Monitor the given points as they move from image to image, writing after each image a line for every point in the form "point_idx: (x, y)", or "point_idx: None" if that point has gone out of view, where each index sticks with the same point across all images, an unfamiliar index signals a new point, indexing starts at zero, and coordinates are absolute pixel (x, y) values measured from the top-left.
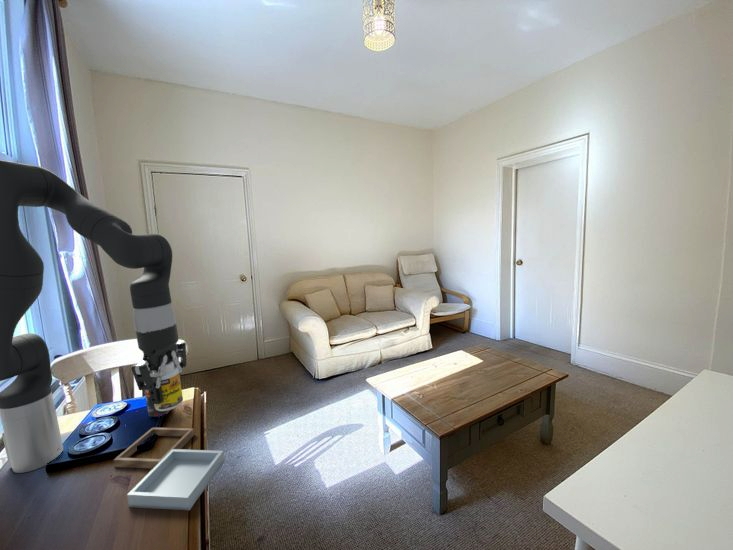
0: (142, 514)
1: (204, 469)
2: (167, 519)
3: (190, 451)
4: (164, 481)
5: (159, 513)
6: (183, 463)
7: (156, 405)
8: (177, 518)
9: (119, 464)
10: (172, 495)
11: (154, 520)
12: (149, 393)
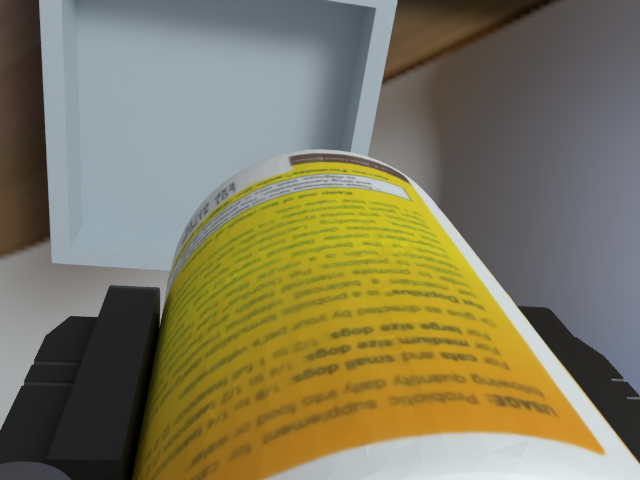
0: (26, 36)
1: None
2: (17, 169)
3: (360, 117)
4: (207, 39)
5: (41, 116)
6: (330, 71)
7: (172, 265)
8: (27, 206)
9: None
10: (56, 191)
11: (5, 115)
12: (3, 431)
